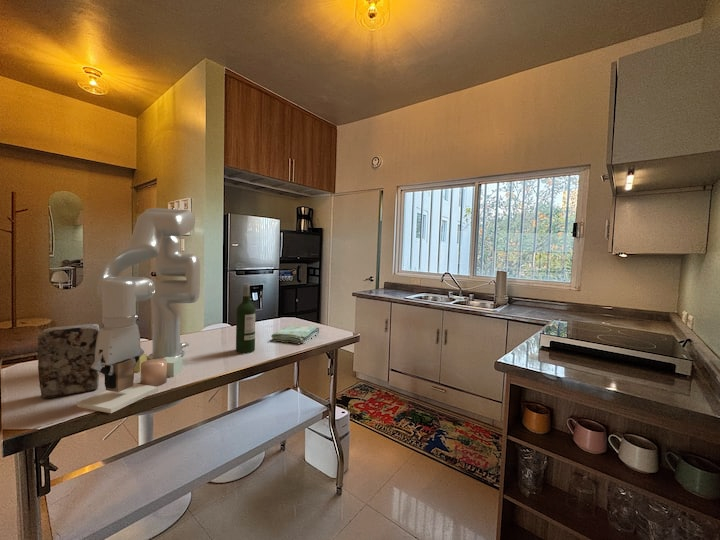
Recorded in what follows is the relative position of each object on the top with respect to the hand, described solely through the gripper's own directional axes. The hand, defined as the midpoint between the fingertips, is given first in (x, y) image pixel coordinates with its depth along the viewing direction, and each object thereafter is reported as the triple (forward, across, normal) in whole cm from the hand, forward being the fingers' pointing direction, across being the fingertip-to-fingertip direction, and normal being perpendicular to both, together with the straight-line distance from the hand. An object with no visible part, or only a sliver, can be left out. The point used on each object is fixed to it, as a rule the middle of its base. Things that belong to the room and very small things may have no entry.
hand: (119, 383), depth 87 cm
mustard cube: (+5, -18, -16) cm, 25 cm away
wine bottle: (+5, -49, +8) cm, 50 cm away
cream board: (+4, 0, 0) cm, 4 cm away
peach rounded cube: (+5, -11, 0) cm, 12 cm away
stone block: (+5, +1, -17) cm, 18 cm away
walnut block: (+1, 0, 0) cm, 1 cm away
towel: (+5, -76, +20) cm, 79 cm away
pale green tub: (+5, -19, -2) cm, 20 cm away
